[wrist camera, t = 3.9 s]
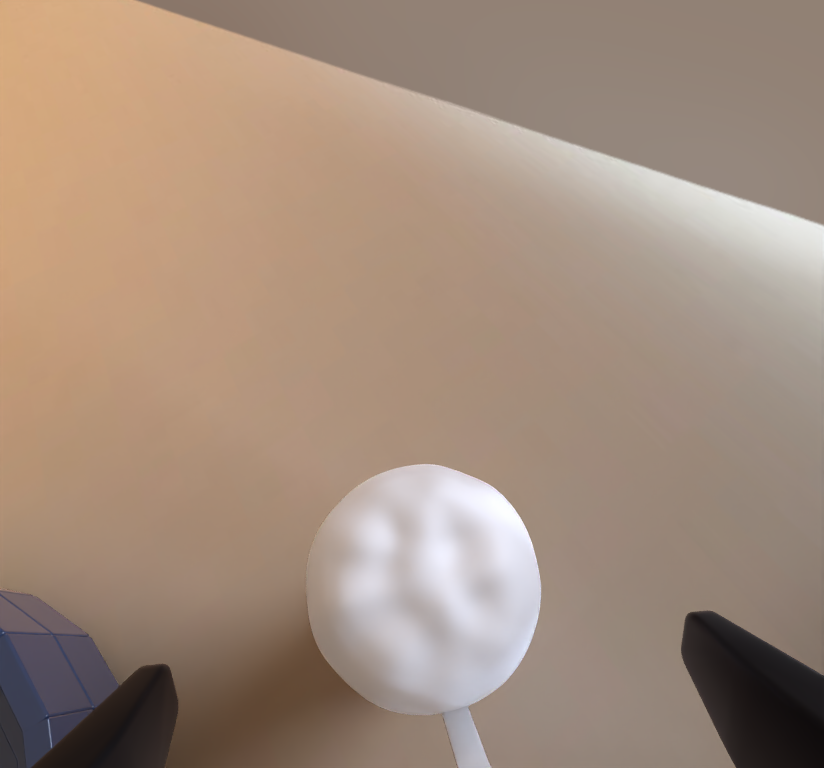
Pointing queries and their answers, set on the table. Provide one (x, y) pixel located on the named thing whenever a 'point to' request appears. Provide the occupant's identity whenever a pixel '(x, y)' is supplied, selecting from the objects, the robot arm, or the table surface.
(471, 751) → the milkshake
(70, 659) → the bowl
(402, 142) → the table surface
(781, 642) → the table surface
